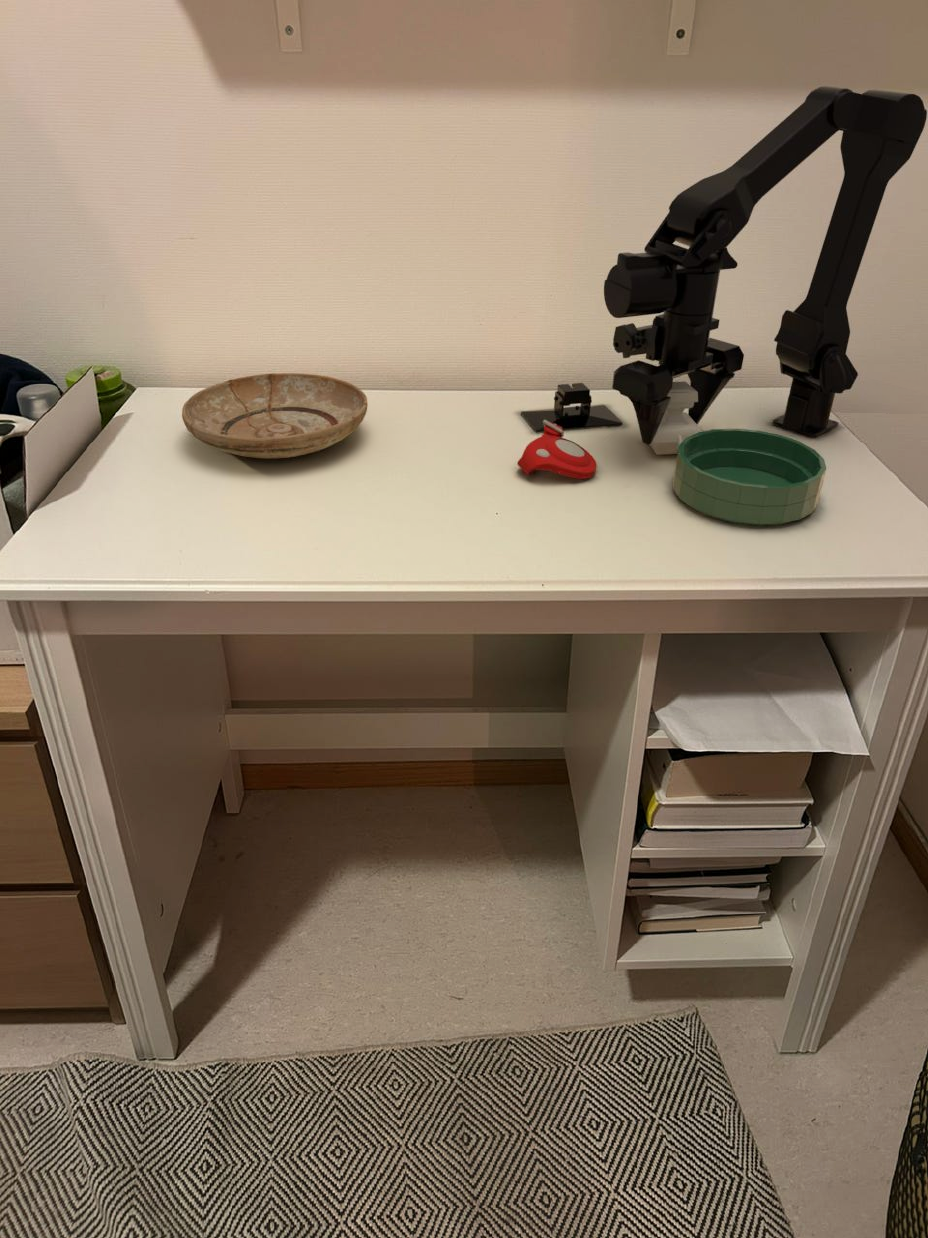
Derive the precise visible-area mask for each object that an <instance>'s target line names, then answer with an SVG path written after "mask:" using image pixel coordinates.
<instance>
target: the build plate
mask: <svg viewBox="0 0 928 1238" xmlns="http://www.w3.org/2000/svg"><path fill="white" fill-rule="evenodd" d="M553 400H554V402H553V403H554V405H553V408H548V409H546V408H545V409H537V410H534V409H533V410H524V411H523V410H522V411H521V412H520V415H521V416H522V418H523V419H524V420H525V422H526V423H527V424H528V425H529V426H530V427H531V429H532V430H533V431H534V432H535V433H538V434H539V433H544V432H545V431H544V428H545V427H544V424H543V421H544V420H546V421H548V422H550V423H553V424H557V425H558V426H560V427H562V428H563V429H562V430H563V431H573V430H574V431H575V430H584V429H585V430H587V429H596V428H617V427H622V426H623V421H622V420H621V419H620V418H619V417H618V416H617V415H616V414H615V413H614V412H612V411H611V409H610V408H608V407H607V406H606V404H596V405H595V404H594V405H592V403H593V400H592V395H591V389H590V388H589V387H587V385H586V384H585V383H583V382H577V383H576V382H575V383H571V385H570V384H569V383H562V384H561V383H560V384H557V388H556V391H554V397H553ZM578 404H580V405H578ZM571 405H575V406H571Z"/></svg>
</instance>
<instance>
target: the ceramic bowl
mask: <svg viewBox="0 0 928 1238" xmlns="http://www.w3.org/2000/svg"><path fill="white" fill-rule="evenodd" d="M368 407H369V406H368V397H367V395H366V394H365V392H363V390H362V389H360V388H359V387H357V385H354V384H353V383H350V382H348V381H346V380H344V379H343V380H342V379H338V378H335V377H331V376H327V375H320V374H312V373H299V372H298V373H297V372H296V373H295V372H290V373H289V372H286V373H285V372H284V373H283V372H281V373H280V372H279V373H273V372H272V373H264V374H263V373H262V374H255V375H254V374H253V375H248V376H243V377H242V376H241V377H238V378H233V379H229V380H226V381H222V382H219V383H216V384H213V385H211V386H208V387H206V388H204V389H202V390H199V391H198V392H196V393H194V394H193V395H192V396H191V397H189V398H188V399H187V400H186V401H185V402H184V404H183V406H182V409H181V418H182V421H183V424H184V426H185V428H186V430H187V431H188V432H189V433H190V434H191V436H193V437H194V438H195V439H197V440H198V441H200V442H202V443H203V444H205V445H207V446H209V447H211V448H214V449H216V450H218V451H221V452H224V453H227V454H232V455H236V456H241V457H246V458H253V459H254V458H256V459H286V458H287V459H288V458H295V457H299V456H304V455H308V454H313V453H316V452H319V451H322V450H324V449H327V448H329V447H331V446H333V445H335V444H337V443H339V442H340V441H343V440H344V439H345V438H347V437H348V436H350V435H351V434H352V433H353V432H355V431H356V429H358V428H359V427H360V425H361V424H362V422H363V421H364V419H365V416H366V414H367V412H368Z"/></svg>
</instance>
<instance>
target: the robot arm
mask: <svg viewBox="0 0 928 1238" xmlns="http://www.w3.org/2000/svg"><path fill="white" fill-rule="evenodd" d="M927 116H928V110H927V109H926V108H925V105H924V101H923V99H922V98H921V97H920V96H919V95H918V94H916V93H908V92H899V91H890V90H882V89H868V90H866V91H864V92H862V93H858V92H854V91H853V90H852V89H850V88H847V87H846V88H845V87H839V86H838V87H836V86H828V85H827V86H826V85H822V86H819V87H817V88H815V89H813V90H811V91H810V92H809V93H808V95H807V96H806V97H805V100H804V102H803V103H801V104H800V105H799V106H798V107H797V108H796V109H795V110H794V111H791V113H790V114H788V116H787V117H785V119H783V120H782V121H781V122H780V123H779V124H777V126H775V127H774V128H773V129H771V131H769V132H768V134H766V135H765V136H764V137H763V138H762V139H761V140H760V141H758V142H757V143H756V144H755V145H754V146H752V148H750V149H749V150H748V151H747V152H746V153H745V154H744V155H742V156H741V157H740V158H739V159H738V160H736V161H735V162H734V163H733V164H732V165H731V166H729V167H727V169H724V170H723V171H721V172H718V173H715V174H712V175H709V176H707V177H705V178H701V179H700V180H699V181H697V182H695V183H693V184H692V185H690V186H689V187H687V188H686V189H685V190H683V191H681V192H679V194H677V195H676V196H675V197H674V198H673V200H672V201H671V203H670V205H669V206H668V210H669V211H668V213H667V214H666V216H665V218H664V219H663V220H662V222H661V223H660V225H659V226H658V228H657V229H656V230H655V232H654V233H653V235H652V237H651V238H650V239H649V241H648V242H647V244H646V245H645V246H644V252H638V253H633V252H619V253H618V254H617V260H616V264H614V265H613V266H612V267H611V268H610V270H609V271H608V273H607V276H606V279H605V280H604V283H603V297H604V302H605V303H604V304H605V307H606V309H607V311H608V313H609V314H610V315H611V316H612V317H613V318H615V319H624V318H633V317H641V316H649V315H655V317H654V318H653V319H652V324H649V325H643V326H639V327H637V326H636V325H635V323H633V322H631V323H628V324H621V325H617V326H615V328H614V333H613V339H612V341H613V342H612V346H613V349H614V351H615V352H616V353H618V354H622V358H623V359H629V358H631V357H632V356H639V355H645V359H646V360H648V361H652V362H654V361H657V362H658V365H654V364H652V363H649V362H645V361H643V360H636V361H632V362H629V363H626V364H623V365H620V366H618V368H617V369H615V370H614V371H613V376H612V384H611V387H612V390H615V391H616V392H619V394H620V395H621V396H624V397H626V398H628V399H629V401H630V402H631V405H632V406H633V409H634V412H635V416H636V419H637V424H638V428H639V432H640V438H641V441H642V443H643V444H645V445H648V446H650V444H651V443H652V441H653V439H654V437H655V435H656V433H657V430H658V428H659V425H660V423H661V421H662V418H663V416H664V413H665V411H666V409H667V406H668V404H669V402H670V399H671V397H669V396H667V395H668V393H669V392H670V390H671V389H672V384H673V382H674V379H675V378H679V377H682V376H685V375H687V378H688V379H689V382H690V386H691V387H692V388H693V389H695V390H696V391H697V392H698V402H694V406H693V407H692V408H689V409H688V412H687V414H688V415H689V416H690V417H691V418H692V420H693V421H694V422H695V423H696V424H697V425H698V424H700V421H701V420H702V419H703V417H704V416H705V414H706V413H707V412H708V410H709V409H710V407H711V406H712V405H713V403H714V402H715V401H716V399H717V397H718V396H719V395H720V394H721V392H722V391H723V390H724V388H725V387H726V386H727V384H728V383H729V382H730V380H731V379H734V378H735V374H736V372H737V371H740V370H742V368H743V362H744V358H745V357H744V356H745V353H743V351H742V349H741V347H740V345H737V344H734V343H730V342H728V341H727V342H726V341H724V340H719V339H716V338H712V337H710V335H711V331H714V330H717V329H719V327H720V326H719V325H720V319H719V318H715V317H713V316H714V310H715V304H716V300H717V299H716V298H717V292H718V286H719V280H720V274H721V271H723V270H724V271H725V270H733V269H736V268H737V267H738V262H737V261H736V260H735V258H734V257H733V256H732V255H731V254H730V252H729V250H728V246H730V244H731V243H732V242H733V241H734V240H735V239H736V237H737V236H738V235H739V234H740V233H741V232H742V231H743V229H745V227H746V226H747V224H748V223H749V221H750V220H751V219H750V218H751V216H752V213H753V210H754V208H755V207H756V205H757V204H758V203H759V202H760V201H761V199H762V198H763V197H764V196H765V195H767V194H768V193H769V192H770V191H771V190H772V189H773V188H775V187H776V186H777V185H778V184H780V182H781V181H782V180H784V179H785V178H786V177H787V176H788V175H789V174H791V173H792V172H793V171H794V170H795V169H796V168H797V167H798V166H799V165H801V164H802V163H803V162H804V161H805V160H806V159H808V158H809V157H810V156H811V155H812V154H814V152H816V151H817V150H818V149H820V147H822V146H823V145H824V144H825V143H826V142H827V141H829V139H830V138H831V137H833V136H834V135H835V134H836V133H838V132H839V131H841V132H842V134H841V140H840V146H839V148H840V153H841V159H842V166H843V173H844V174H843V179H842V183H841V185H840V189H839V192H838V194H837V198H836V201H835V204H834V208H833V211H832V213H831V214H832V215H831V217H830V221H829V224H828V226H827V231H826V232H825V233H826V234H825V236H824V240H823V242H822V246H821V249H820V253H819V255H818V259H817V262H816V265H815V268H814V271H813V275H812V279H811V280H810V281H811V282H810V285H809V287H808V292H807V294H806V297H805V298H804V300H803V301H802V302H801V303H800V304H799V305H798V306H797V307H796V308H795V309H794V310H793V311H792V310H789V309H785V311H784V312H783V314H782V316H781V322H780V327H779V330H778V332H777V334H776V335H775V337H774V339H773V341H774V342H776V346H775V355H776V356H777V358H778V360H779V368H780V373H781V375H786V376H787V377H790V378H792V380H791V384H790V389H789V393H788V397H787V401H786V407H785V410H784V414H783V415H780V416H778V417H775V418H774V419H772V424H773V425H775V426H779V427H780V428H785V429H787V430H790V431H793V432H796V433H799V434H802V435H805V436H808V437H811V438H816V437H818V436H820V435H822V434H824V433H826V432H828V431H831V430H832V429H835V428H837V427H838V426H839V422H838V421H837V420H833V419H830V416H831V413H832V408H833V405H834V400H835V395H836V394H843V393H844V392H845V391H849V390H851V389H852V387H853V386H854V383H855V381H856V380H857V378H858V376H859V373H858V371H857V370H856V368H855V366H854V364H853V362H852V361H851V359H850V358H849V357H848V355H847V349H848V345H849V341H850V336H851V328H850V327H851V326H850V321H849V316H848V310H847V307H848V303H849V299H850V297H851V294H852V290H853V288H854V285H855V282H856V279H857V275H858V272H859V270H860V267H861V265H862V264H861V263H862V260H863V258H864V255H865V251H866V249H867V246H868V243H869V239H870V237H871V234H872V232H873V231H872V230H873V228H874V225H875V223H876V220H877V216H878V213H879V210H880V207H881V203H882V202H883V201H882V200H883V198H884V195H885V193H886V189H887V186H888V184H889V182H890V180H891V179H892V178H893V177H894V176H895V175H896V174H897V173H898V172H899V171H900V170H901V169H902V168H903V167H904V165H905V164H906V163H908V161H909V160H910V159H911V157H912V155H913V153H914V151H915V149H916V146H917V144H918V142H919V139H920V138H921V136H922V134H923V131H924V130H925V129H924V128H925V126H926V122H927V118H928V117H927ZM675 242H677V243H679V244H681V245H684V246H687V247H688V248H686V247H683V246H681V245H678V244H675Z"/></svg>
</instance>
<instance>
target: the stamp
mask: <svg viewBox="0 0 928 1238" xmlns="http://www.w3.org/2000/svg"><path fill="white" fill-rule="evenodd" d="M667 396H669V397H671V399H670V402H669V404H668V406H667V409H666V411H665V413H664V416H663V418H662V421H661V423H660V425H659V428H658V430H657V433H656V435H655V437H654V439H653V441H652V443H651V444H649V446H650V447H651V449H652V451H654V453H655V454H656V455H677V453H678V446H679V444H680V443H681V442H682V441H683V440H684V439H685V438H687V437H689V436H691V435H694V434H696V433H699V432H703V430H702V429H701V428H700V426H699V425H698V424H696V423H695V422H694V421H693V420H692V418H691V417H690V416H689V415H688V412H685V410H686V409H688V410H689V408H692V407H693V406H694V402H698V392H697V391H696V390H695V389H693V388H692V387H691V384H689V383H688V382H687V381H673V384H672V389H671V390H670V392H669V393H668V395H667Z"/></svg>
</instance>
